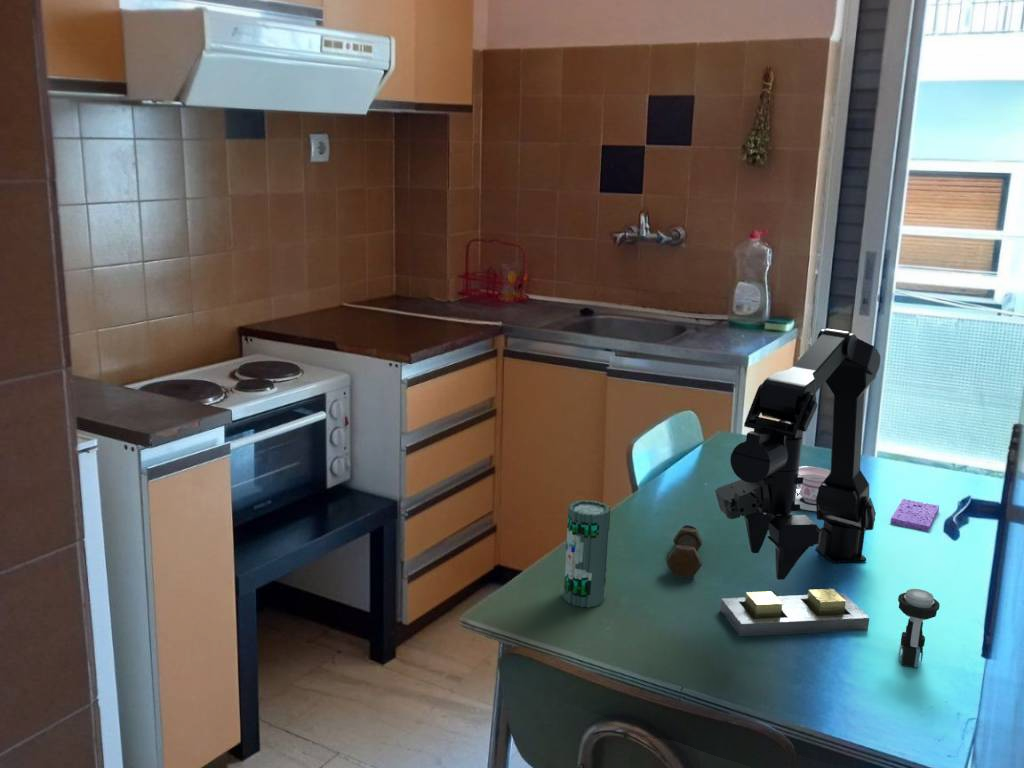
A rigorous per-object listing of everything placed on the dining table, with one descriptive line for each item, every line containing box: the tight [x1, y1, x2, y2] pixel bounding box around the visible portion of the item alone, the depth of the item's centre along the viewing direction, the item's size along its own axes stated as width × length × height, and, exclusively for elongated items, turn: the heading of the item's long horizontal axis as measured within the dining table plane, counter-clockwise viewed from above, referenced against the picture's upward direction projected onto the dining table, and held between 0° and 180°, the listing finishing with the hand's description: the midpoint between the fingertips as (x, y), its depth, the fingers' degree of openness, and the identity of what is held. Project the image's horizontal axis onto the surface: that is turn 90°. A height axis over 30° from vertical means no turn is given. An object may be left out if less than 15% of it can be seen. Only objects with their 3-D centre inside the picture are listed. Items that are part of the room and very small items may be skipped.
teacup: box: [795, 465, 831, 512], centre depth 198 cm, size 12×12×6 cm
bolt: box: [665, 524, 703, 579], centre depth 169 cm, size 6×5×15 cm
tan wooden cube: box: [807, 588, 846, 616], centre depth 149 cm, size 4×4×4 cm
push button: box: [897, 588, 941, 669], centre depth 138 cm, size 7×5×10 cm
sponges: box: [890, 498, 940, 533], centre depth 192 cm, size 7×13×2 cm, turn 149°
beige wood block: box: [744, 590, 782, 619], centre depth 148 cm, size 4×4×4 cm
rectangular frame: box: [719, 593, 870, 637], centre depth 149 cm, size 20×8×2 cm, turn 99°
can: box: [563, 499, 612, 609], centre depth 152 cm, size 6×6×15 cm
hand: (767, 565), depth 146 cm, fingers open, 9 cm apart
